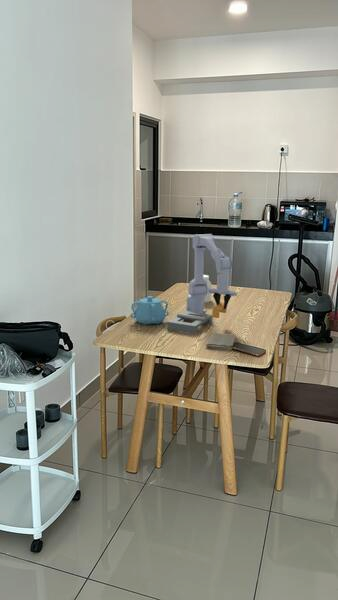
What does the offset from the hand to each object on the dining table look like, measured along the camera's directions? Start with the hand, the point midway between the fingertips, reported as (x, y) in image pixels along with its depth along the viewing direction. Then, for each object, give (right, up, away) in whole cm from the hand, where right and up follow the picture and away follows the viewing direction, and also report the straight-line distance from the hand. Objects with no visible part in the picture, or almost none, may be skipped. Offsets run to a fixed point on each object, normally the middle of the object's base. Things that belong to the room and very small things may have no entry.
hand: (221, 308), depth 238 cm
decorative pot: (-36, -7, +8) cm, 38 cm away
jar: (-7, +4, +53) cm, 54 cm away
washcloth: (-3, -16, -22) cm, 28 cm away
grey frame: (-16, -9, +2) cm, 18 cm away
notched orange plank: (-1, -3, -2) cm, 4 cm away
